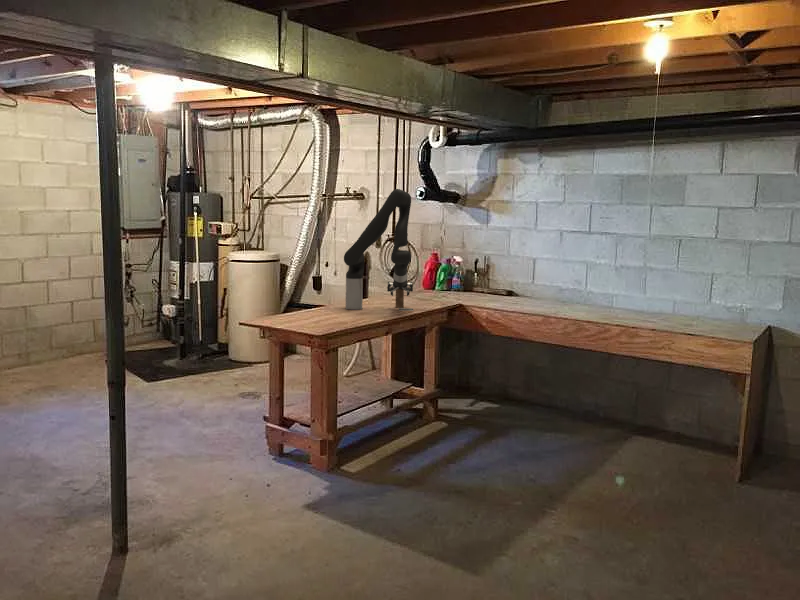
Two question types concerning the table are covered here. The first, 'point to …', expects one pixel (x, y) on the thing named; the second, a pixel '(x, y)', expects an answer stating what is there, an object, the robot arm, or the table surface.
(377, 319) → the table surface
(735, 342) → the table surface
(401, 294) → the block
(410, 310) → the mat
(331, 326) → the table surface
